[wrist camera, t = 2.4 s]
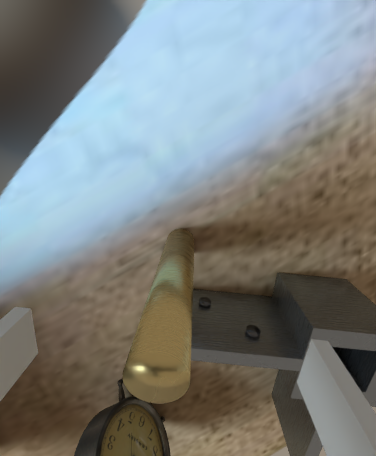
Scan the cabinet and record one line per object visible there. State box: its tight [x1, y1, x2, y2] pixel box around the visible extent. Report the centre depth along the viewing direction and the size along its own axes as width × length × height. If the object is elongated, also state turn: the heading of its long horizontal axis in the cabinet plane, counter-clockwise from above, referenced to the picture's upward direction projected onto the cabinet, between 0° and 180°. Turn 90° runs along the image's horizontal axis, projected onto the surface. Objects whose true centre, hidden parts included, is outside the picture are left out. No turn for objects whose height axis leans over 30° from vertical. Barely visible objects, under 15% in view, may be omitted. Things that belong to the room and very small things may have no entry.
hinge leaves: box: [191, 273, 376, 456], centre depth 24 cm, size 18×18×8 cm
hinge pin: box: [123, 229, 194, 404], centre depth 17 cm, size 3×3×15 cm
